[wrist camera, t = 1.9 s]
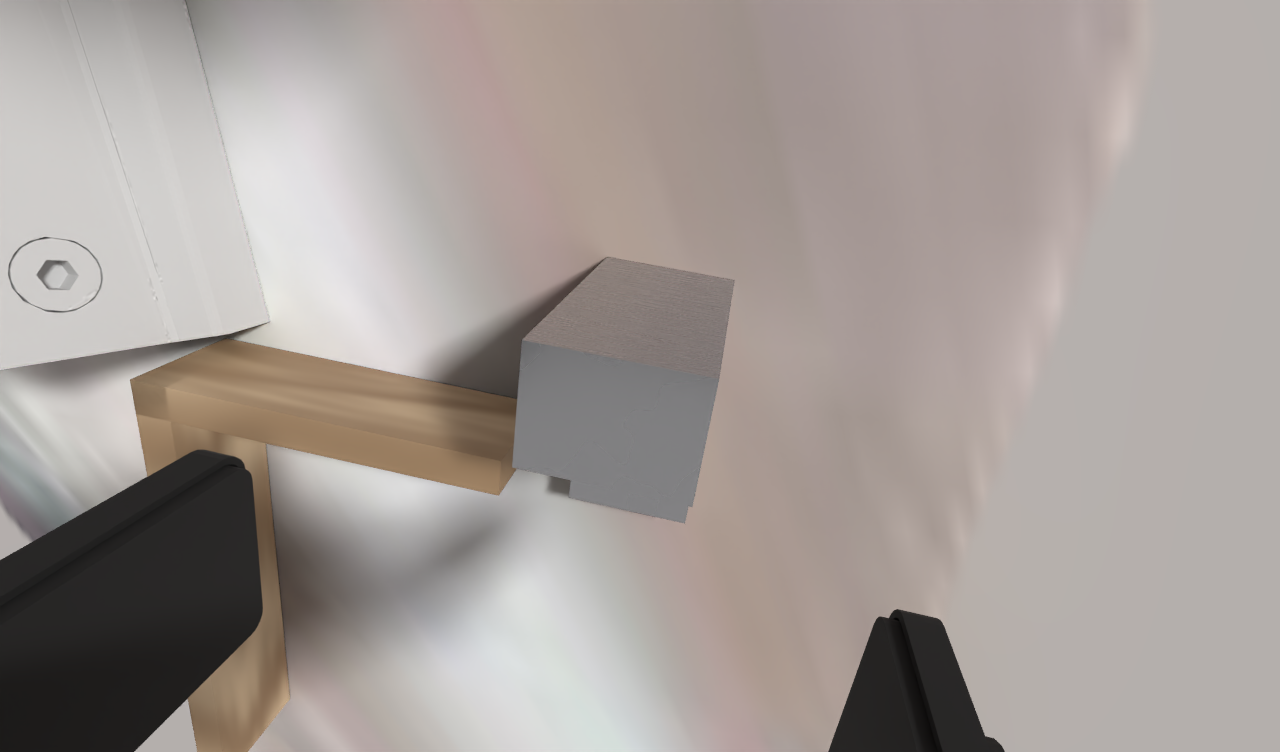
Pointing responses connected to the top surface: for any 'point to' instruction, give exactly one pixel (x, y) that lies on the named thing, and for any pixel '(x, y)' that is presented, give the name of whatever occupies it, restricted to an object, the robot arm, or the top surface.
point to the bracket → (624, 386)
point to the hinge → (113, 185)
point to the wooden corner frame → (314, 423)
